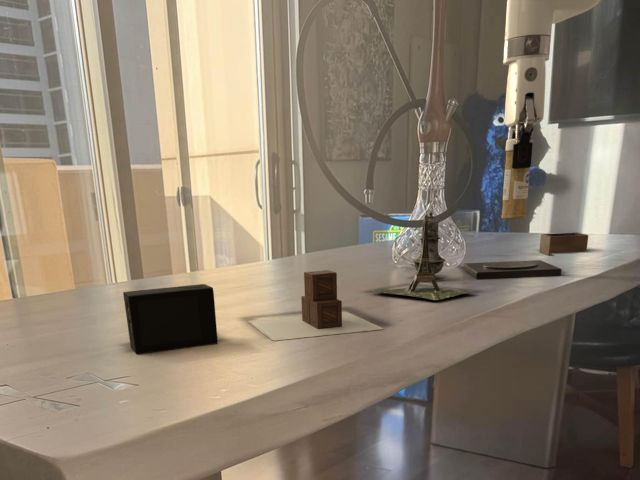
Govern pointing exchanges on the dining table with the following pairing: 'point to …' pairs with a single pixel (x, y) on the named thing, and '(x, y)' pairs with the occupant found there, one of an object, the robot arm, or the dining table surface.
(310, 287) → the stack of crates
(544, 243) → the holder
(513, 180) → the sprinkles bottle
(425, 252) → the eiffel tower figurine
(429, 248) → the dark brown tall piece
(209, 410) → the dining table surface
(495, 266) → the hob plate
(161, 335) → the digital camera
